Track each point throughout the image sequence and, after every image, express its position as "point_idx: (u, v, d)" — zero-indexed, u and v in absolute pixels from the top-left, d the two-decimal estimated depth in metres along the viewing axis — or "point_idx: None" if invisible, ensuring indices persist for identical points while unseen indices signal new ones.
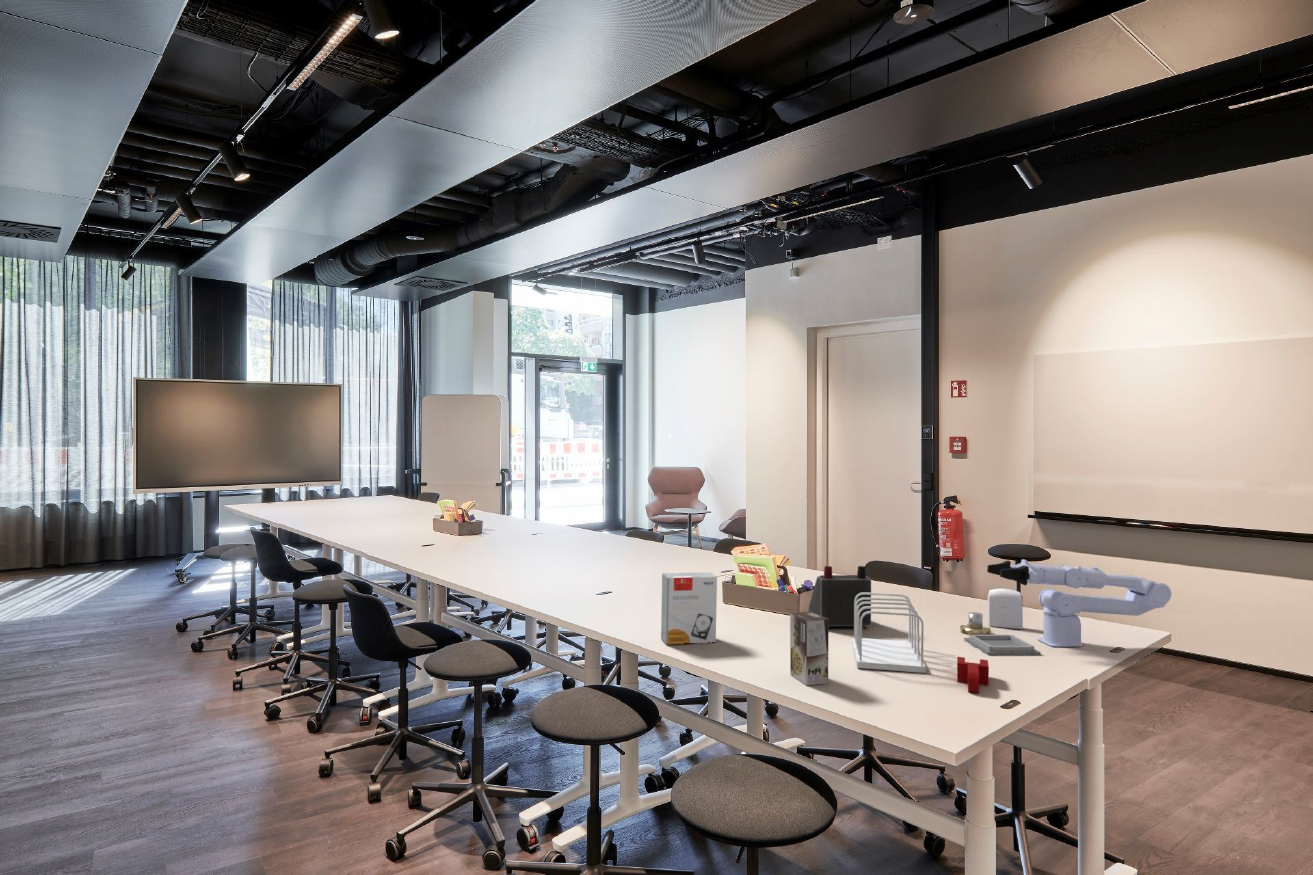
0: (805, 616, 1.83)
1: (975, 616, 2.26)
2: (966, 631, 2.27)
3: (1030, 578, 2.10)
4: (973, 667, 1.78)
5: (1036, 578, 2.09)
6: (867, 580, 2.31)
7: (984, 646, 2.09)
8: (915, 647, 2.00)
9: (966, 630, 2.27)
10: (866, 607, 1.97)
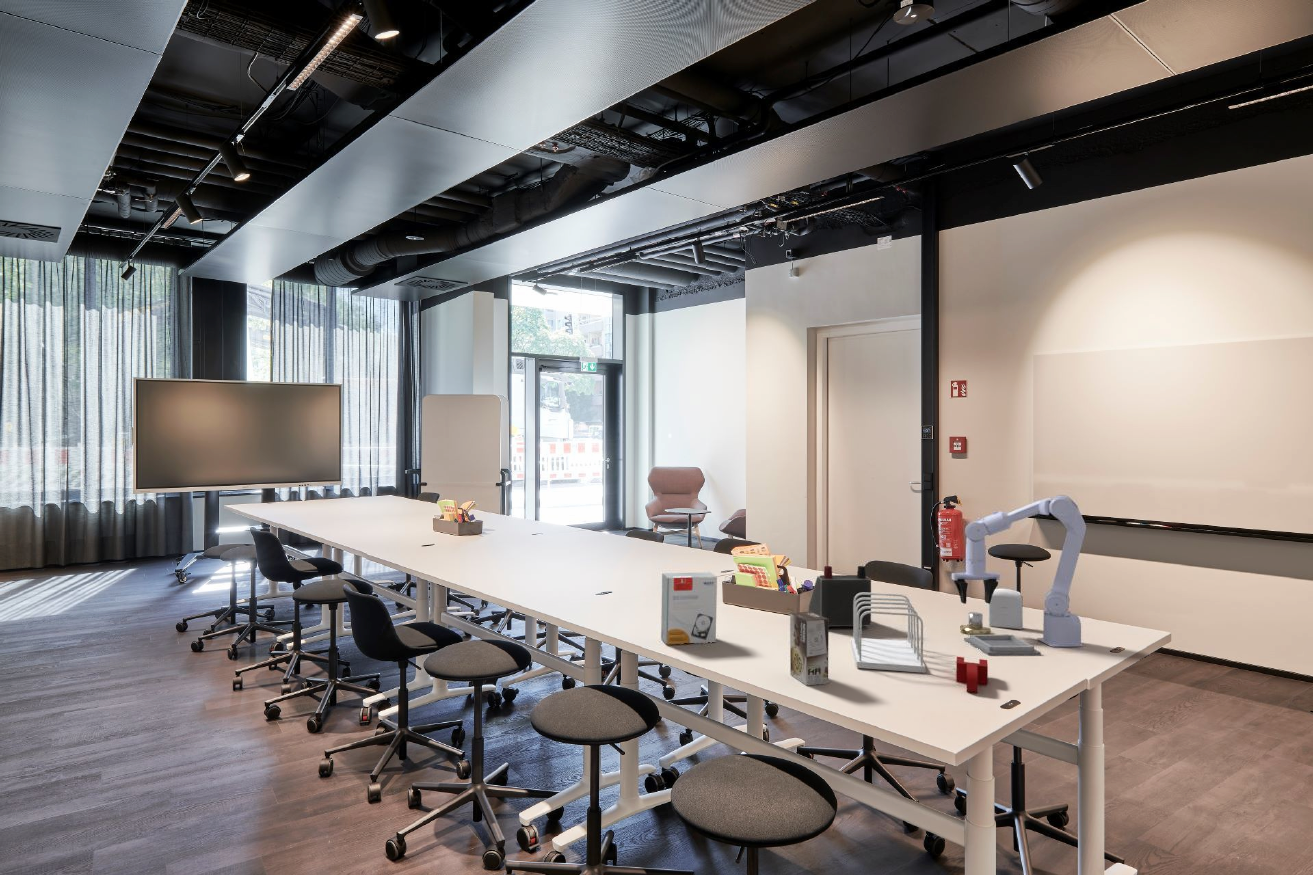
0: (805, 616, 1.83)
1: (975, 616, 2.26)
2: (966, 631, 2.27)
3: None
4: (972, 667, 1.78)
5: (953, 575, 2.28)
6: (867, 580, 2.31)
7: (984, 646, 2.09)
8: (914, 647, 2.00)
9: (966, 630, 2.27)
10: (866, 607, 1.98)
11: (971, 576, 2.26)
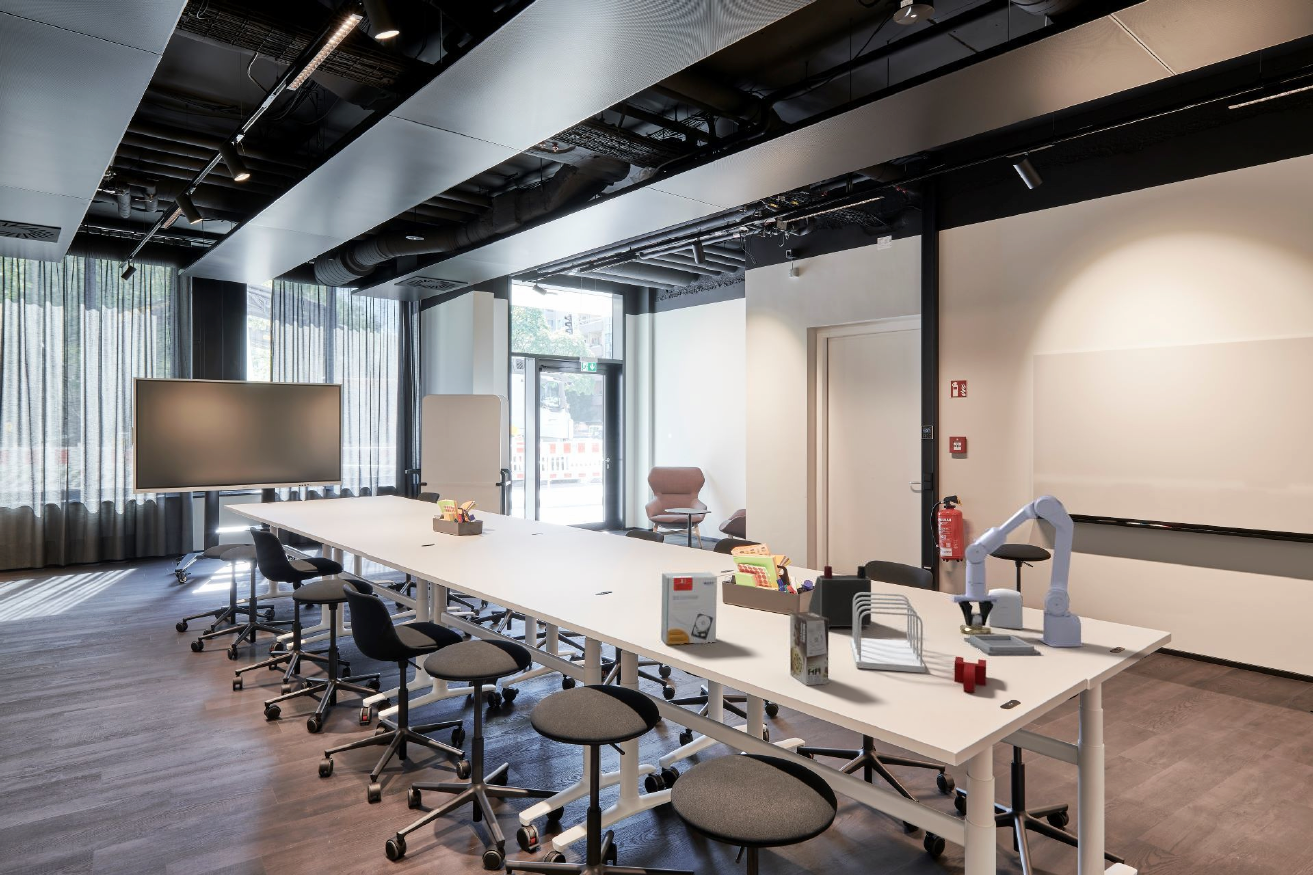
0: (805, 616, 1.83)
1: (975, 616, 2.26)
2: (966, 631, 2.27)
3: None
4: (969, 667, 1.78)
5: (953, 597, 2.28)
6: (867, 580, 2.31)
7: (984, 646, 2.09)
8: (914, 647, 2.01)
9: (966, 630, 2.27)
10: (865, 607, 1.98)
11: (971, 598, 2.26)
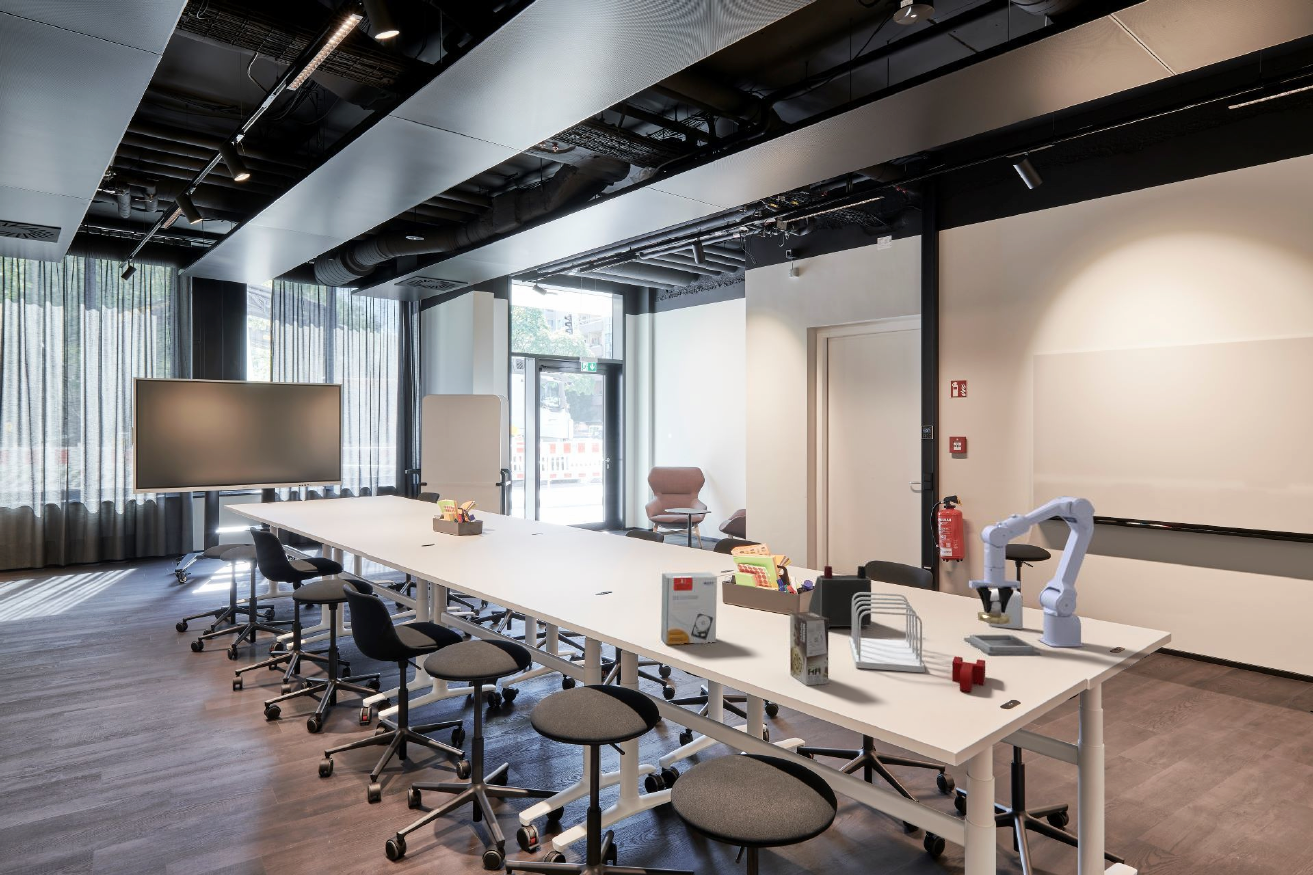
0: (805, 616, 1.83)
1: (994, 603, 2.14)
2: (984, 618, 2.15)
3: None
4: (967, 667, 1.78)
5: (970, 582, 2.16)
6: (867, 580, 2.31)
7: (984, 646, 2.09)
8: (913, 647, 2.01)
9: (984, 617, 2.15)
10: (864, 607, 1.98)
11: (990, 584, 2.14)
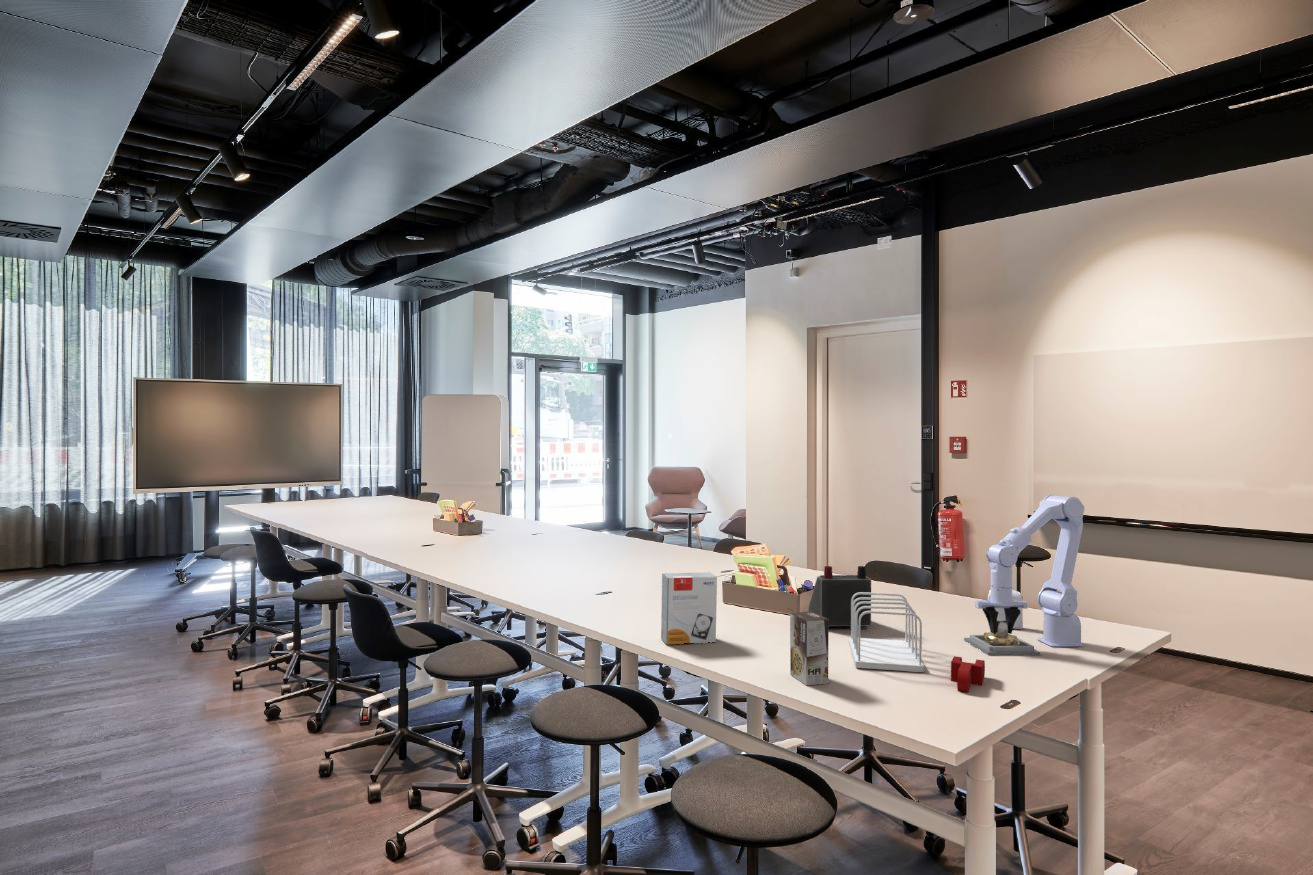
0: (805, 616, 1.83)
1: (1001, 623, 2.10)
2: (991, 639, 2.11)
3: None
4: (965, 667, 1.79)
5: (977, 602, 2.12)
6: (867, 580, 2.31)
7: (984, 646, 2.09)
8: (912, 646, 2.01)
9: (991, 638, 2.11)
10: (864, 607, 1.98)
11: (996, 604, 2.10)
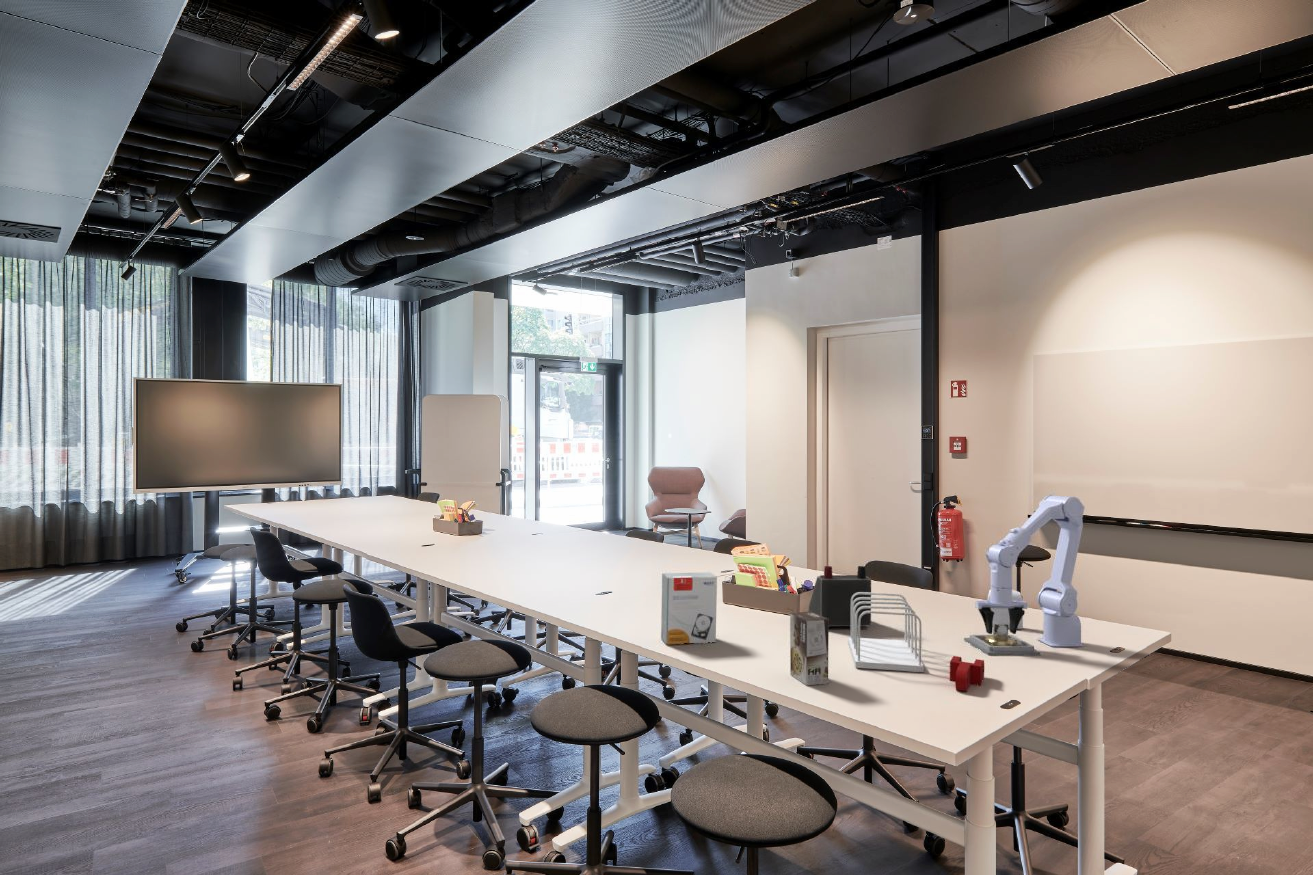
0: (805, 616, 1.83)
1: (1000, 627, 2.11)
2: (991, 643, 2.11)
3: None
4: (964, 666, 1.79)
5: (977, 603, 2.12)
6: (867, 580, 2.31)
7: (984, 646, 2.09)
8: (912, 646, 2.01)
9: (991, 642, 2.11)
10: (864, 607, 1.98)
11: (996, 604, 2.10)
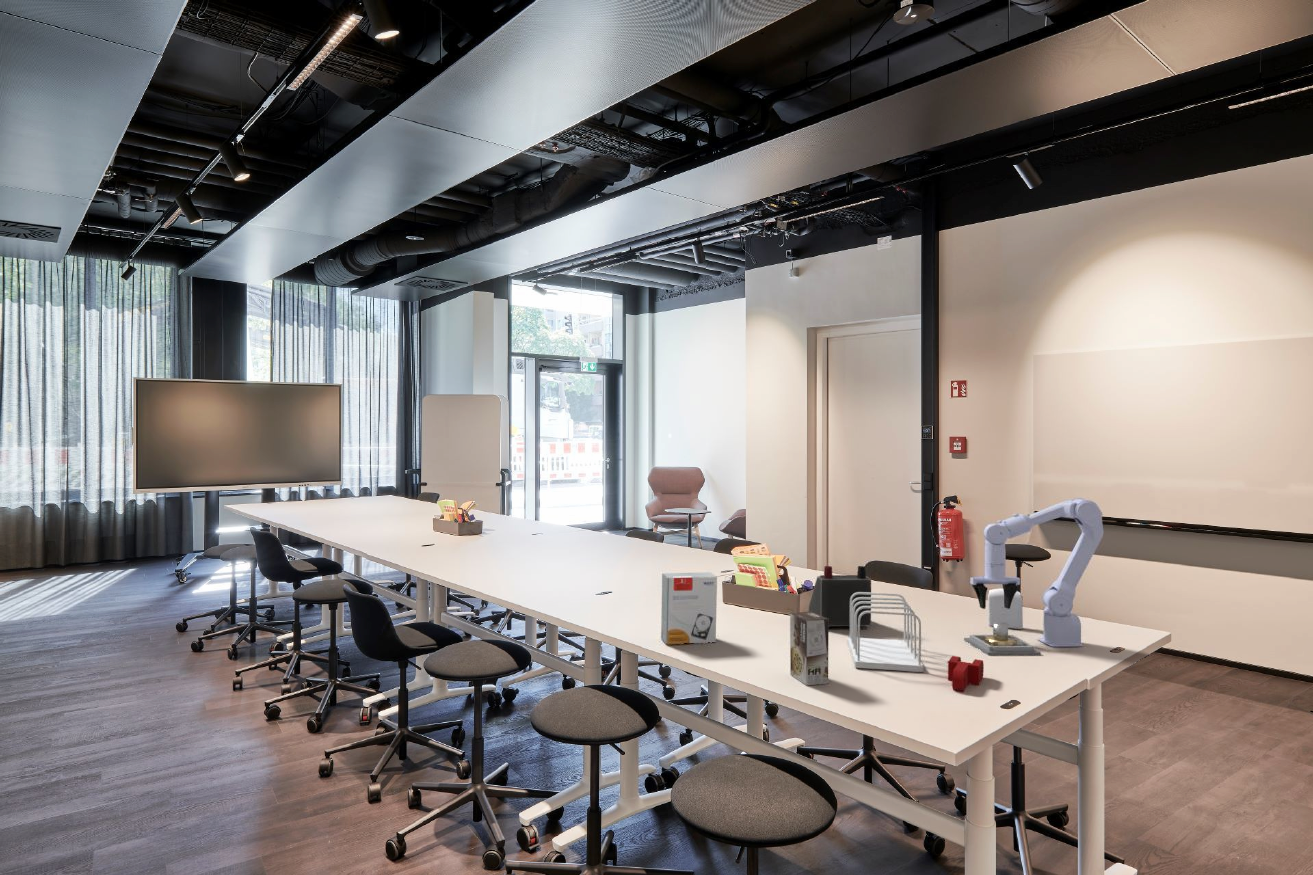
0: (805, 616, 1.83)
1: (1000, 627, 2.11)
2: (991, 643, 2.11)
3: None
4: (961, 666, 1.79)
5: (972, 579, 2.21)
6: (867, 580, 2.31)
7: (984, 646, 2.09)
8: (911, 646, 2.01)
9: (991, 642, 2.11)
10: (863, 607, 1.98)
11: (991, 580, 2.19)
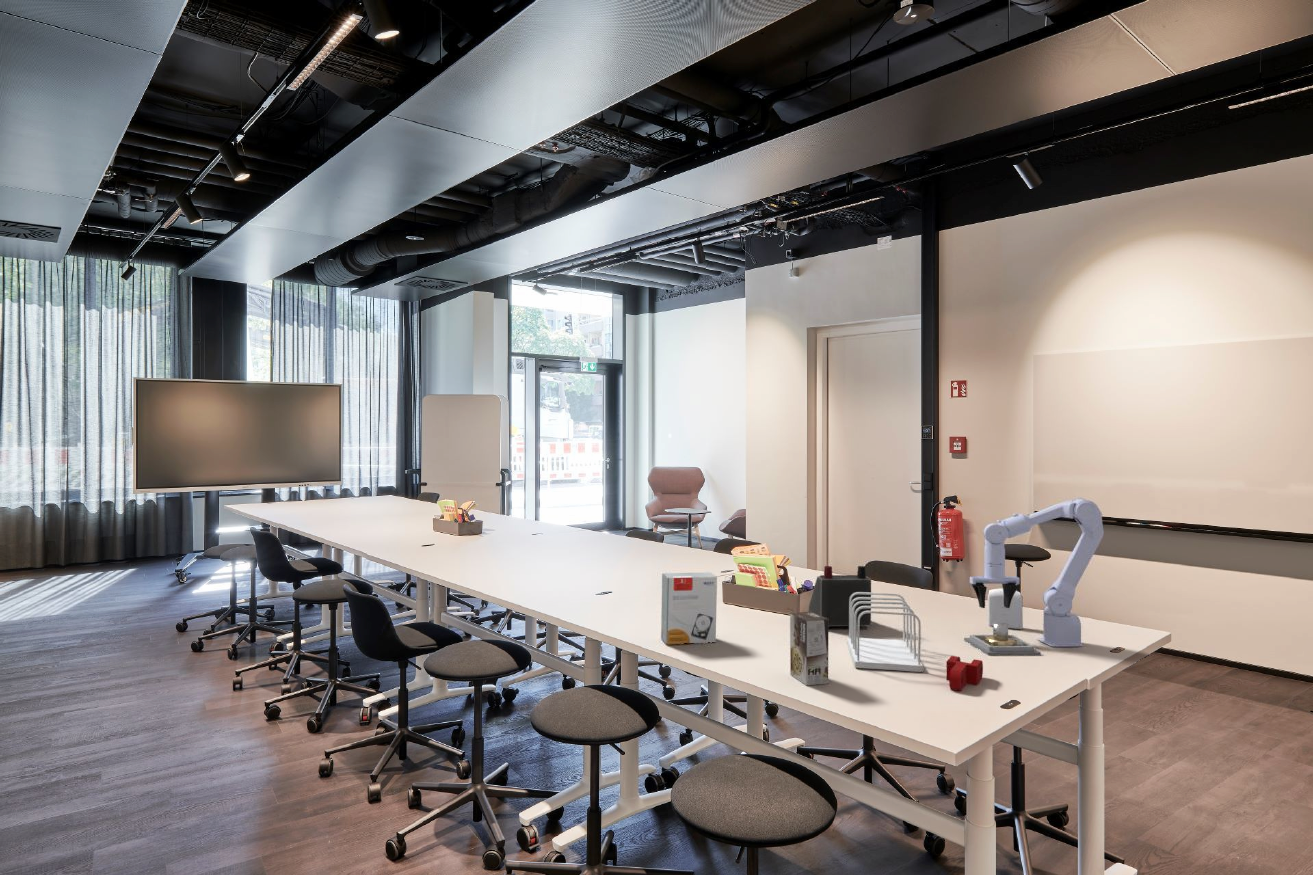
0: (805, 616, 1.83)
1: (1000, 627, 2.11)
2: (991, 643, 2.11)
3: None
4: (959, 666, 1.79)
5: (971, 578, 2.22)
6: (867, 580, 2.31)
7: (984, 646, 2.09)
8: (911, 646, 2.01)
9: (991, 642, 2.11)
10: (863, 607, 1.98)
11: (990, 580, 2.20)
